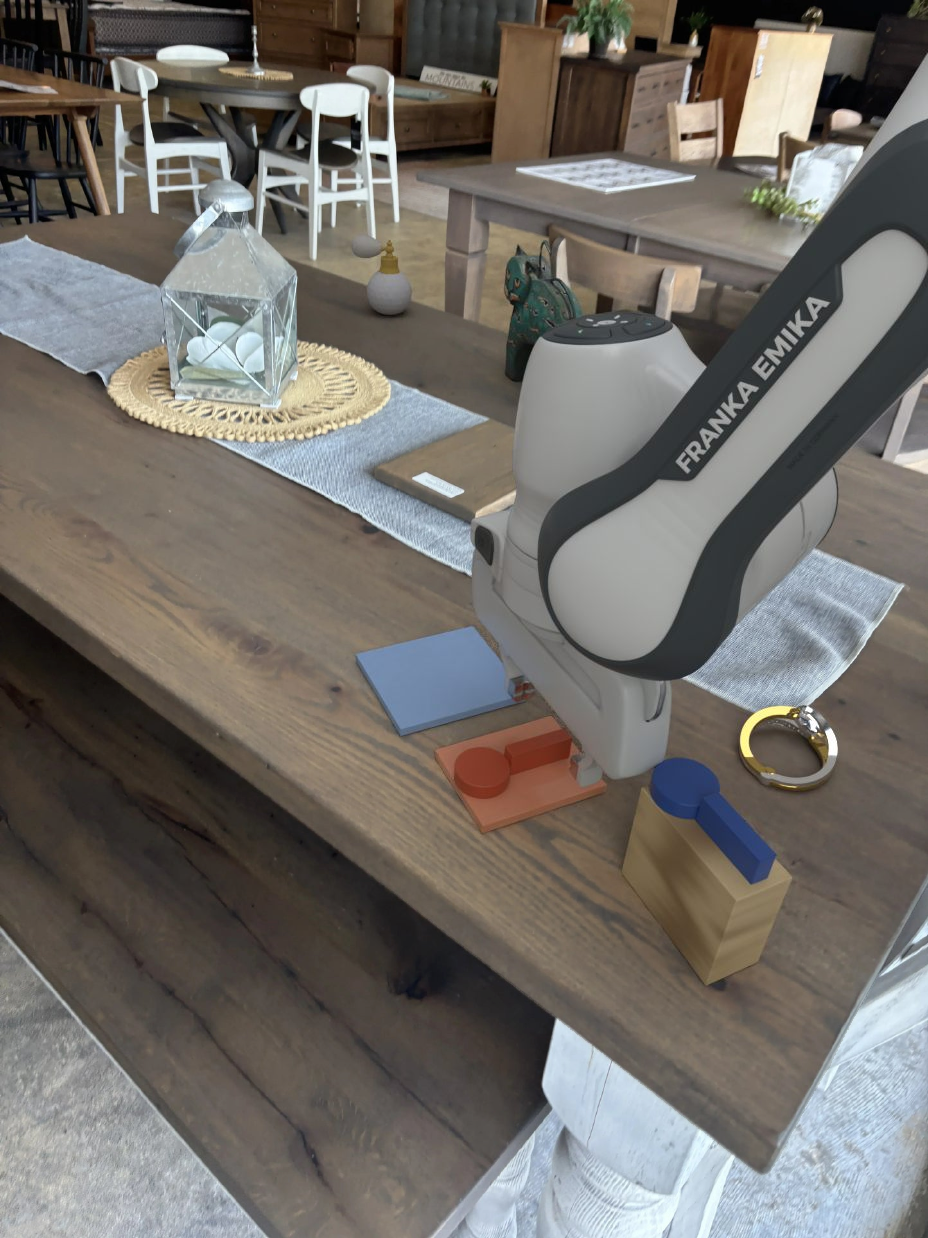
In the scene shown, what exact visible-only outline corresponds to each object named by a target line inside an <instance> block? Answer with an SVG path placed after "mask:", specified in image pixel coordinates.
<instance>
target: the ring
mask: <svg viewBox="0 0 928 1238" xmlns="http://www.w3.org/2000/svg"><path fill="white" fill-rule="evenodd" d="M770 724H777V725H782V726H783V727H787V728H788V729H791V730H792V731H793V732H796V733H797V734H798V735H801V736H802V738H804V739H806V740H807V741H808V744H810V745H811V746H812V748H813V749H814V750H815V752H816V753H817V755H818V757H819V759H820V761H821V765H822V767H821V769H820V770H818V771H817V772H816V773H813V774H810V775H808V776H802V777H792V776H791V777H790V776H785V775H781V774H778V773H777V772H776V770H775V769H774V768H772V767H770V766H763V765H762V764H761V763H760V762H759V761H757V759H756V758H755V756H754V755H753V753H752V751H751V749H750V737H751V735H752V734H753V733H754V732H755V731H756V730H758V729H759V728H761V727H763V726H766V725H770ZM832 729H833V728H832V727H831V726H830V724H829V723H828V721H827V720H826V719H825V718H824V717H823V715H822V714H821V713H820V712H819V711H818V710H816V709H815V708H813V707H812V706H809V705H805V704H802V705H801V704H800V705H798V706H795V707H794V706H787V705H775V706H768V707H765V708H763V709H760V710H758V711H756V712H755V713H753V714H752V715H751V716H749V718H748V719H747V720H746V721H745V723H744V725H743V726H742V729H741V732H740V736H739V742H738V743H739V744H738V750H739V751H738V752H739V755H740V759H741V761H742V763H743V765H744V766H745V768H746V769H747V770H748V771H749V772H750V773H751V774H752V775H753V776H754V777H756V778H757V779H758V782H759V783H760V784H761V785H763V786H766V787H770V786H772V787H775V788H778V789H781V790H786V791H795V792H801V791H808V790H809V791H810V790H813V789H816V788H818V787H820V786H822V785H824V784H825V783H826V782H827V781H828V780H829V779H830V777H831V776H832V773H833V770H834V768H835V765H836V763H837V762H836V761H837V757H838V742H837V738H836V735H835V733H834V731H833V730H832ZM818 737H820V738H822V739H823V738H824V740H825V743H824V742H823V741H822V740H821V739H819V738H818Z"/></svg>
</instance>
